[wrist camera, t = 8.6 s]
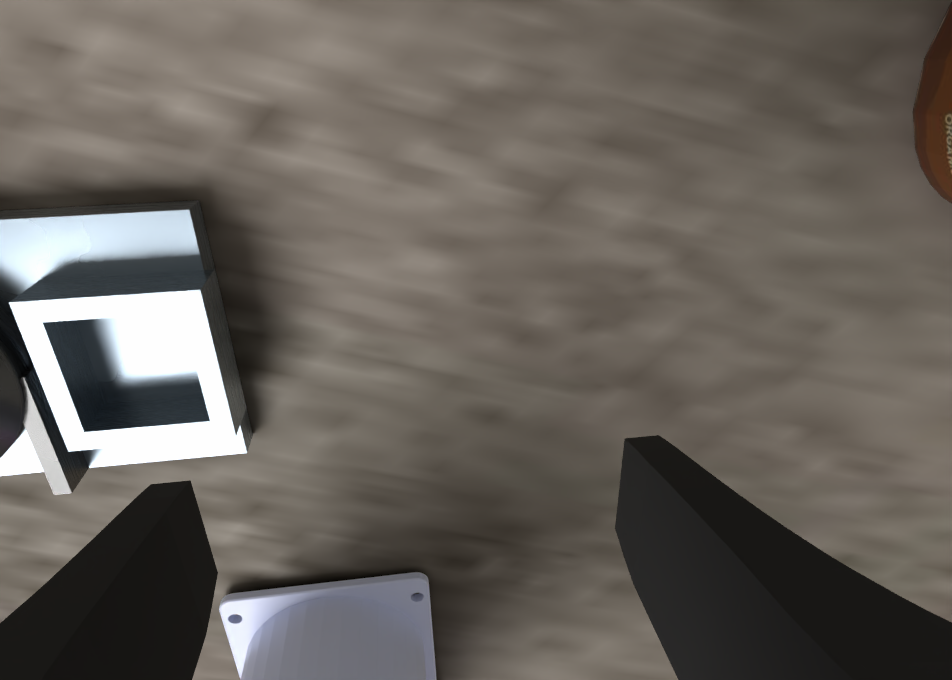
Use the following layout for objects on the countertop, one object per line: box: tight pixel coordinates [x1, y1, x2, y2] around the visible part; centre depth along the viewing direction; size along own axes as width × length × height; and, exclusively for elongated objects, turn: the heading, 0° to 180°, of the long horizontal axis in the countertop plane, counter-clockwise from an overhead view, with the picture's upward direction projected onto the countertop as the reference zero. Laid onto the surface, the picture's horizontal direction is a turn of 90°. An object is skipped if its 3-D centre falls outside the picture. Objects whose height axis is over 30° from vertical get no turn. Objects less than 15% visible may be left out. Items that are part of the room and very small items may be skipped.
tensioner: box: [0, 200, 253, 495], centre depth 17 cm, size 8×11×2 cm
